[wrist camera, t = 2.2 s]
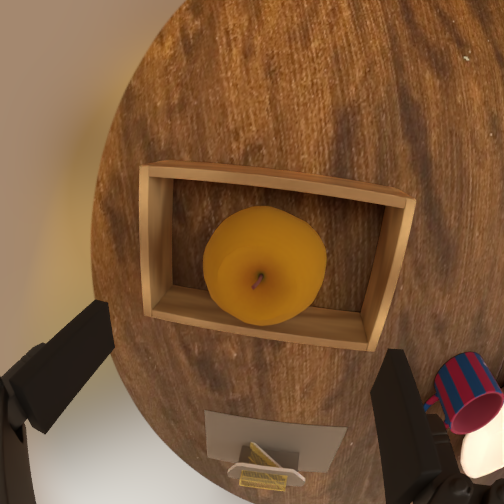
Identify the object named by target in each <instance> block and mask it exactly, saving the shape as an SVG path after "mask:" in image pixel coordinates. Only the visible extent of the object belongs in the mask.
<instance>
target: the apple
mask: <svg viewBox="0 0 504 504" xmlns="http://www.w3.org/2000/svg"><path fill="white" fill-rule="evenodd" d="M326 263H327V256H326V248H325V246H324V244H323V242H322V240H321V238H320V237H319V235H318V233H317V232H316V231H315V230H314V229H313V228H312V227H311V226H310V225H309V224H308V223H307V222H305V221H303V220H301V219H299V218H297V217H295V216H293V215H291V214H289V213H287V212H285V211H283V210H280V209H277V208H273V207H270V206H253V207H249V208H246V209H243V210H240V211H238V212H236V213H234V214H232V215H231V216H229V217H228V218H226V219H225V220H224V221H223V222H222V223H221V224H220V225H219V227H218V228H217V229H216V230H215V232H214V233H213V235H212V237H211V238H210V240H209V242H208V243H207V245H206V248H205V251H204V254H203V272H204V279H205V282H206V285H207V288H208V290H209V293H210V296H211V298H212V299H213V300H214V302H215V303H216V304H217V305H218V306H219V307H220V308H221V309H222V310H224V311H225V312H227V313H229V314H230V315H232V316H234V317H236V318H237V319H239V320H241V321H243V322H244V323H247V324H253V325H258V326H267V325H274V324H279V323H281V322H284V321H286V320H289V319H291V318H293V317H295V316H296V315H298V314H299V313H301V312H302V311H304V310H305V309H306V308H307V307H308V306H309V305H310V304H312V303H313V301H314V299H315V297H316V295H317V293H318V291H319V289H320V287H321V285H322V283H323V280H324V275H325V269H326Z"/></svg>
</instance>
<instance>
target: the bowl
mask: <svg viewBox="0 0 504 504" xmlns="http://www.w3.org/2000/svg"><path fill="white" fill-rule="evenodd" d="M501 391H502V393H503V394H504V387H503V388H501ZM460 462H461V465H462V468H463V470H464V472H465V473H466V475H467V476H469V477H472V478H478V477H481V476H484V475H487V474H489V473H492V472H494V471H496V470H498V469H500V468H502V467H504V404H503V406H502V408H501V410H500V411H499V413H498V414H497V415H496V416H495V418H494V419H492V420H491V421H490V422H489V423H488V424H486V425H485V426H484V427H482V428H480V429H478V430H476V431H474V432H471V433H468V434H466V435H465V437H464V439H463V443H462V449H461V460H460Z"/></svg>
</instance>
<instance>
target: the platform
mask: <svg viewBox="0 0 504 504" xmlns="http://www.w3.org/2000/svg"><path fill="white" fill-rule="evenodd" d="M204 412H205V428H206V443H207V457H208V458H212V459H217V460H222V461H227V462H233V463H236V464H235V465H233V466H232V467H231V468H229V469H228V472H227V476H228V477H230V478H235V479H240V483H239V485H241V482H242V480H244V483H245V481H247V483H248V481H251V482H255V483H256V482H258V483H261V484H262V483H264V485H265V484H267V485H268V484H270V486H271V484H273V487H274V485H276V488H277V485H278V486H279V489H280V487H281V486H280V485H282V487H281V488H282V489H283V486H286V485H288V486H303V485H304V483H305V478H304V477H303V476H302V475H300V474H299V473H298V471H307V472H326V473H327V471H328V469H329V467H330V465H331V463H332V460H333V458H334V456H335V454H336V452H337V450H338V448H339V446H340V444H341V441H342V439H343V437H344V435H345V433H346V430H347V428H348V427H329V426H314V425H302V424H292V423H283V422H274V421H266V420H259V419H252V418H246V417H239V416H233V415H228V414H222V413H217V412H212V411H207V410H204ZM251 482H250V484H251ZM245 485H246V483H245ZM245 485H243V483H242V485H241V486H245ZM253 485H254V483H253ZM256 486H257V483H256ZM259 486H260V484H259ZM247 487H252V485H251V486H249V484H248V486H247ZM262 487H263V485H262ZM254 488H259V487H258V486H257V487H255V486H254ZM260 488H261V487H260ZM261 489H267V488H266V485H265V488H261ZM268 489H269V486H268ZM269 490H275V487H274V489H272V487H271V489H269ZM277 490H278V488H277ZM278 491H285V487H284V489H283V490H281V489H280V490H278Z"/></svg>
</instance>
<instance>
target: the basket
mask: <svg viewBox="0 0 504 504" xmlns="http://www.w3.org/2000/svg"><path fill="white" fill-rule="evenodd" d="M174 179H186V180H198V181H209V182H220V183H230V184H239V185H248V186H257V187H266V188H274V189H282V190H290V191H297V192H304V193H312V194H319V195H325V196H332V197H339V198H345V199H351V200H357V201H363V202H369V203H375V204H381V205H385V210H384V216H383V221H382V226H381V231H380V235H379V240H378V245H377V249H376V254H375V258H374V262H373V267H372V271H371V275H370V279H369V283H368V287H367V291H366V294H365V298H364V302H363V305H362V309H361V313H358V312H350V311H342V310H334V309H326V308H318V307H311V306H308V307H307V308H306V309H305V310H304V311H302V312H301V313H299V314H298V315H296V316H295V317H293V318H291V319H289V320H286V321H284V322H281V323H279V324H274V325H267V326H258V325H253V324H247V323H244V322H243V321H241V320H239V319H237V318H236V317H234V316H232V315H230V314H229V313H227V312H225V311H224V310H222V309H221V308H220V307H219V306H218V305H217V304H216V303H215V302H214V300H213V299H212V298H211V296H210V293H209V291H205V290H200V289H194V288H188V287H182V286H177V285H173V283H172V220H173V184H174ZM415 205H416V199H414V198H413V197H411V196H409V195H408V194H406V193H404V192H403V191H401V190H399V189H397V188H394V187H388V186H384V185H378V184H373V183H367V182H362V181H356V180H350V179H344V178H337V177H331V176H324V175H318V174H311V173H303V172H296V171H288V170H280V169H271V168H263V167H253V166H243V165H233V164H222V163H210V162H196V161H181V160H163V161H158V162H154V163H149V164H145V165H140V167H139V238H140V264H141V282H142V297H143V309H144V316H148V317H153V318H158V319H162V320H167V321H172V322H176V323H181V324H186V325H191V326H196V327H201V328H207V329H212V330H217V331H223V332H228V333H234V334H240V335H246V336H252V337H258V338H265V339H271V340H278V341H285V342H292V343H300V344H307V345H315V346H324V347H332V348H341V349H351V350H361V351H372V352H374V351H375V349H376V346H377V343H378V341H379V338H380V335H381V332H382V329H383V326H384V323H385V320H386V317H387V314H388V311H389V307H390V304H391V301H392V298H393V294H394V291H395V288H396V284H397V280H398V277H399V273H400V270H401V266H402V262H403V258H404V254H405V250H406V246H407V242H408V238H409V233H410V229H411V224H412V220H413V215H414V210H415Z"/></svg>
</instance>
